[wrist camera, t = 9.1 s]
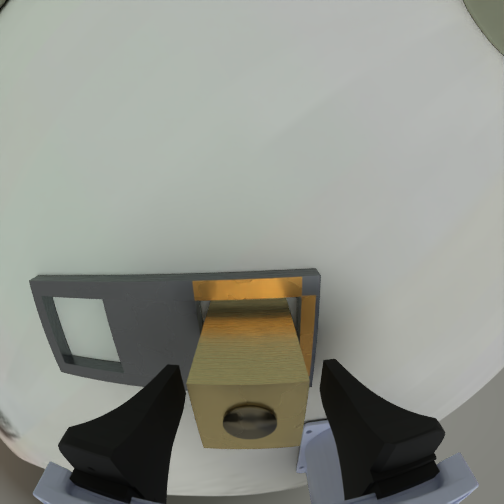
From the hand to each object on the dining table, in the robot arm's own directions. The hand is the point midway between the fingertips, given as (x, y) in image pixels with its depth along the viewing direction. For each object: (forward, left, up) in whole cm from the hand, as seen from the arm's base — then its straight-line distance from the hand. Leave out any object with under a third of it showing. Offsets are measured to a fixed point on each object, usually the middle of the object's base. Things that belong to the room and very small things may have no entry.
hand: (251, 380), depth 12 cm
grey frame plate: (0, +6, -5) cm, 8 cm away
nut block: (0, 0, -5) cm, 5 cm away
